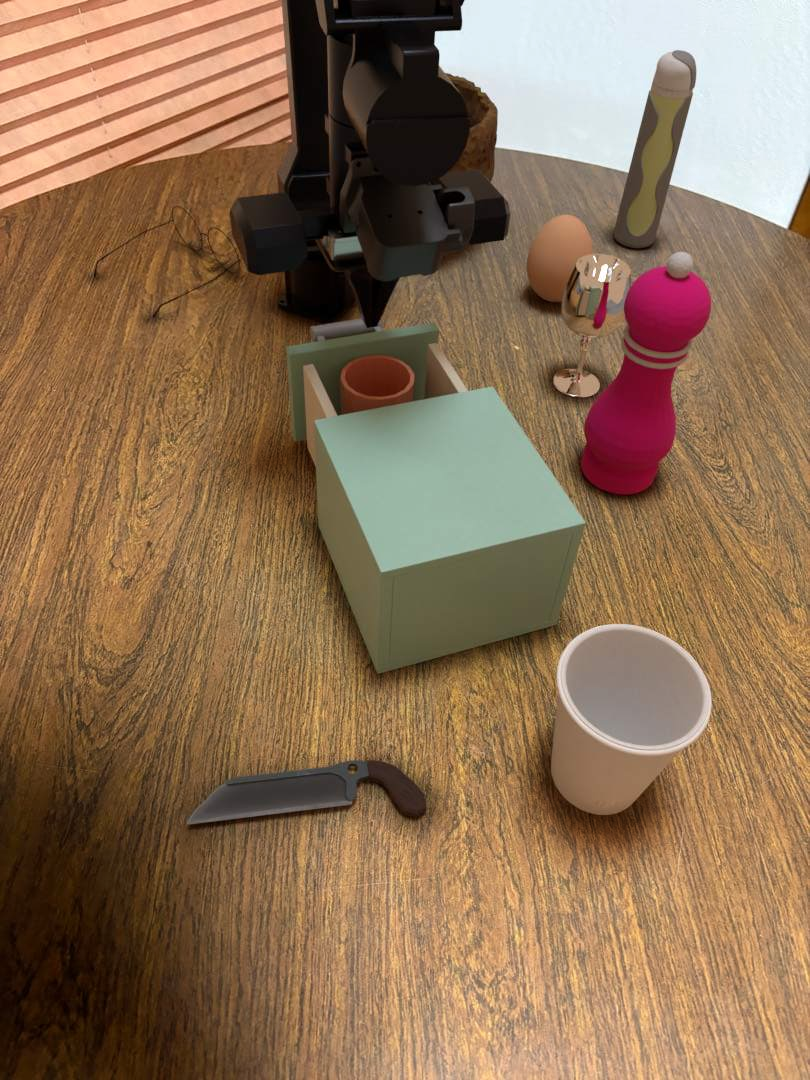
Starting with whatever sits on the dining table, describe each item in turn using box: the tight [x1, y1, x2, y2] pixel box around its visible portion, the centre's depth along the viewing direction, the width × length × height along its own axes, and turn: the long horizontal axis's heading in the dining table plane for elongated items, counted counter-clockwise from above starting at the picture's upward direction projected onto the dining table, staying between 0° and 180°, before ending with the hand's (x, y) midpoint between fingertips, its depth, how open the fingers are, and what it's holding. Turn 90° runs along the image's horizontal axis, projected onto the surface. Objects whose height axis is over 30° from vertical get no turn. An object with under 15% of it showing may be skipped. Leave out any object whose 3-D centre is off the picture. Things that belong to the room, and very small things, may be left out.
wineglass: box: [552, 253, 632, 399], centre depth 77 cm, size 6×6×12 cm
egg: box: [526, 214, 594, 303], centre depth 88 cm, size 7×7×9 cm
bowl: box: [429, 72, 499, 185], centre depth 94 cm, size 19×19×15 cm
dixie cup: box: [550, 623, 713, 816], centre depth 50 cm, size 8×8×10 cm
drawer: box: [285, 317, 469, 468], centre depth 69 cm, size 18×12×9 cm
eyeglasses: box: [93, 205, 241, 319], centre depth 89 cm, size 11×13×5 cm
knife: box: [186, 759, 427, 825], centre depth 51 cm, size 14×4×1 cm, turn 99°
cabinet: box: [314, 386, 587, 675], centre depth 60 cm, size 15×14×11 cm
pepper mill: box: [580, 251, 712, 496], centre depth 66 cm, size 7×7×20 cm
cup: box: [340, 355, 415, 415], centre depth 69 cm, size 6×6×6 cm
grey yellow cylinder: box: [613, 49, 697, 249], centre depth 93 cm, size 5×5×20 cm
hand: (369, 324), depth 66 cm, fingers closed
